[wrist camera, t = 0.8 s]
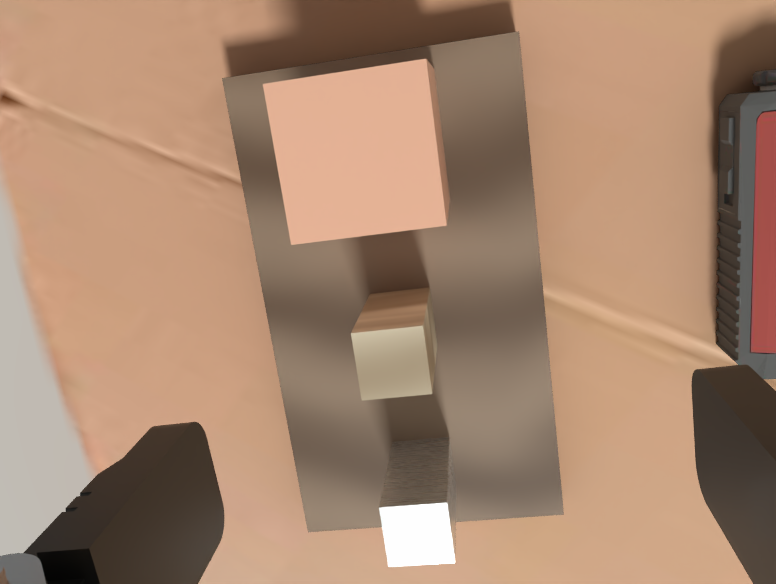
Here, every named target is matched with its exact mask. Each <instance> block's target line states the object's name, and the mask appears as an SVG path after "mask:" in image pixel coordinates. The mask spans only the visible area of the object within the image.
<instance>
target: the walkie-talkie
mask: <svg viewBox="0 0 776 584" xmlns="http://www.w3.org/2000/svg"><path fill="white" fill-rule="evenodd" d="M753 84H754V85H755V86H760V90H759V91H756V92H747V93H738V94H728V95H727V96H726V97H725V98H724V100H723V101H722V103H721V104H720V105H719V150H718V212H719V213H720V220H718V225H720V232H719V233H717V237H718V238H720V245H718V246H717V250H719V251H720V257H719V258H717V262H718V263H719V270H717V275H719V282H718V283H717V287H718V288H719V294H718V295H717V299H718V300H719V306H718V307H716V311H718V312H719V318H717V319H716V323H718V324H719V329H718V330H717V331H716V335H718V342H716V344H717V345H718V346H719V347H720V348H721V349H722V350H723V351H724V352H725V353H726V354H727V355H728V356H730V357H731V358H732V359H733V360H734V361H735V362H736V363H737V364H738V365H744V364H746V365H749V366H750V367H751V368H752V369H753V370H754V371H755V372H756V373H757V374H758V375H759V376H760V377H761V378H762V379H776V69H775V70H765V71H756V72H755V73H754V74H753Z"/></svg>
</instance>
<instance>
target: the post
mask: <svg viewBox="0 0 776 584" xmlns="http://www.w3.org/2000/svg"><path fill="white" fill-rule="evenodd" d="M379 511H380V517H381V523H382V529H383V536H384V542H385V548H386V554H387V560H388V567H398V566H414V565H430V564H447V563H455V546H456V482H455V474H454V467H453V459H452V452H451V444H450V437H445V438H433V439H421V440H409V441H398V442H392V447H391V452H390V457H389V462H388V467H387V471H386V476H385V481H384V486H383V491H382V496H381V500H380V505H379Z"/></svg>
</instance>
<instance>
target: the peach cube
mask: <svg viewBox="0 0 776 584" xmlns="http://www.w3.org/2000/svg"><path fill="white" fill-rule="evenodd" d="M263 89H264V94H265V100H266V106H267V111H268V117H269V123H270V128H271V134H272V140H273V145H274V151H275V157H276V162H277V168H278V174H279V179H280V185H281V191H282V196H283V202H284V207H285V213H286V219H287V224H288V230H289V236H290V241H291V245H296V244H304V243H312V242H320V241H328V240H336V239H344V238H352V237H360V236H368V235H376V234H384V233H392V232H400V231H408V230H416V229H424V228H432V227H440V226H447V220H448V212H449V205H450V194H449V186H448V178H447V170H446V161H445V153H444V145H443V136H442V128H441V120H440V112H439V103H438V95H437V87H436V79H435V70H434V68H433V67H432V65H431V64H430V63H429V62H428V60H427V59H420V60H414V61H407V62H401V63H394V64H388V65H382V66H375V67H369V68H362V69H356V70H349V71H343V72H337V73H330V74H324V75H317V76H311V77H305V78H298V79H292V80H285V81H279V82H272V83H266V84H263Z"/></svg>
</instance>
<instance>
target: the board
mask: <svg viewBox="0 0 776 584" xmlns="http://www.w3.org/2000/svg"><path fill="white" fill-rule="evenodd" d="M420 59H427V60H428V62H429V63H430V64H431V65H432V67H433V68H434V70H435V79H436V87H437V95H438V103H439V112H440V120H441V128H442V136H443V145H444V153H445V161H446V170H447V178H448V186H449V194H450V205H449V212H448V220H447V226H440V227H432V228H424V229H416V230H408V231H400V232H392V233H384V234H376V235H368V236H360V237H352V238H344V239H336V240H328V241H320V242H312V243H304V244H296V245H291V241H290V236H289V230H288V224H287V219H286V213H285V207H284V202H283V196H282V191H281V185H280V179H279V174H278V168H277V162H276V157H275V151H274V145H273V140H272V134H271V128H270V123H269V117H268V111H267V106H266V100H265V94H264V89H263V84H266V83H272V82H279V81H285V80H292V79H298V78H305V77H311V76H317V75H324V74H330V73H337V72H343V71H349V70H356V69H362V68H369V67H375V66H382V65H388V64H394V63H401V62H407V61H414V60H420ZM222 81H223V86H224V91H225V96H226V102H227V107H228V112H229V118H230V123H231V128H232V133H233V139H234V144H235V149H236V154H237V160H238V165H239V170H240V176H241V181H242V186H243V191H244V197H245V202H246V207H247V212H248V218H249V223H250V228H251V234H252V239H253V244H254V249H255V255H256V260H257V265H258V270H259V276H260V281H261V286H262V292H263V297H264V302H265V307H266V313H267V318H268V323H269V328H270V334H271V339H272V344H273V350H274V355H275V360H276V365H277V371H278V376H279V381H280V387H281V392H282V397H283V402H284V408H285V413H286V418H287V423H288V429H289V434H290V439H291V445H292V450H293V455H294V460H295V466H296V471H297V476H298V481H299V487H300V492H301V497H302V503H303V508H304V513H305V518H306V524H307V529H308V532H318V531H333V530H347V529H362V528H376V527H382V523H381V517H380V511H379V505H380V500H381V496H382V491H383V486H384V481H385V476H386V471H387V467H388V462H389V457H390V452H391V447H392V442H398V441H409V440H421V439H433V438H445V437H450V444H451V452H452V459H453V467H454V474H455V482H456V522H463V521H477V520H492V519H506V518H521V517H535V516H550V515H564V512H563V501H562V490H561V480H560V469H559V458H558V447H557V436H556V426H555V415H554V404H553V393H552V382H551V372H550V361H549V350H548V339H547V328H546V317H545V307H544V296H543V285H542V274H541V263H540V253H539V242H538V231H537V220H536V209H535V199H534V188H533V177H532V166H531V155H530V145H529V134H528V123H527V112H526V101H525V90H524V80H523V69H522V58H521V47H520V36H519V31H518V32H512V33H506V34H499V35H493V36H487V37H480V38H474V39H468V40H461V41H455V42H449V43H443V44H436V45H430V46H424V47H417V48H411V49H405V50H398V51H392V52H386V53H379V54H373V55H367V56H360V57H354V58H348V59H341V60H335V61H329V62H322V63H316V64H310V65H303V66H297V67H291V68H284V69H278V70H272V71H266V72H259V73H253V74H247V75H240V76H234V77H228V78H222Z"/></svg>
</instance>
